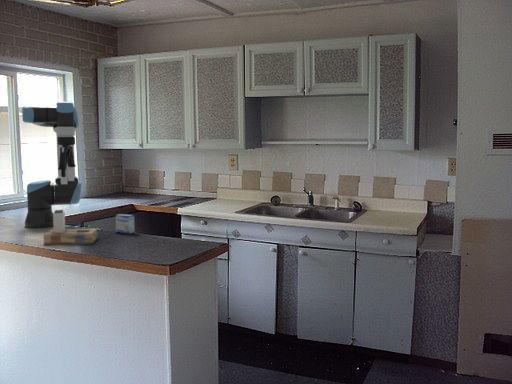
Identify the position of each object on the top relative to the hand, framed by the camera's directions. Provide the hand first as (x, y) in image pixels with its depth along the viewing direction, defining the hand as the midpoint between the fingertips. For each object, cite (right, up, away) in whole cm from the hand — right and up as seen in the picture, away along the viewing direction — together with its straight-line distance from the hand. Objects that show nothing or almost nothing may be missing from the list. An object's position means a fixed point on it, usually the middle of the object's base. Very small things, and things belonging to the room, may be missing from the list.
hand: (67, 182), depth 244 cm
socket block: (+5, -26, -10) cm, 28 cm away
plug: (0, -25, -10) cm, 27 cm away
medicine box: (+23, -24, +13) cm, 36 cm away
